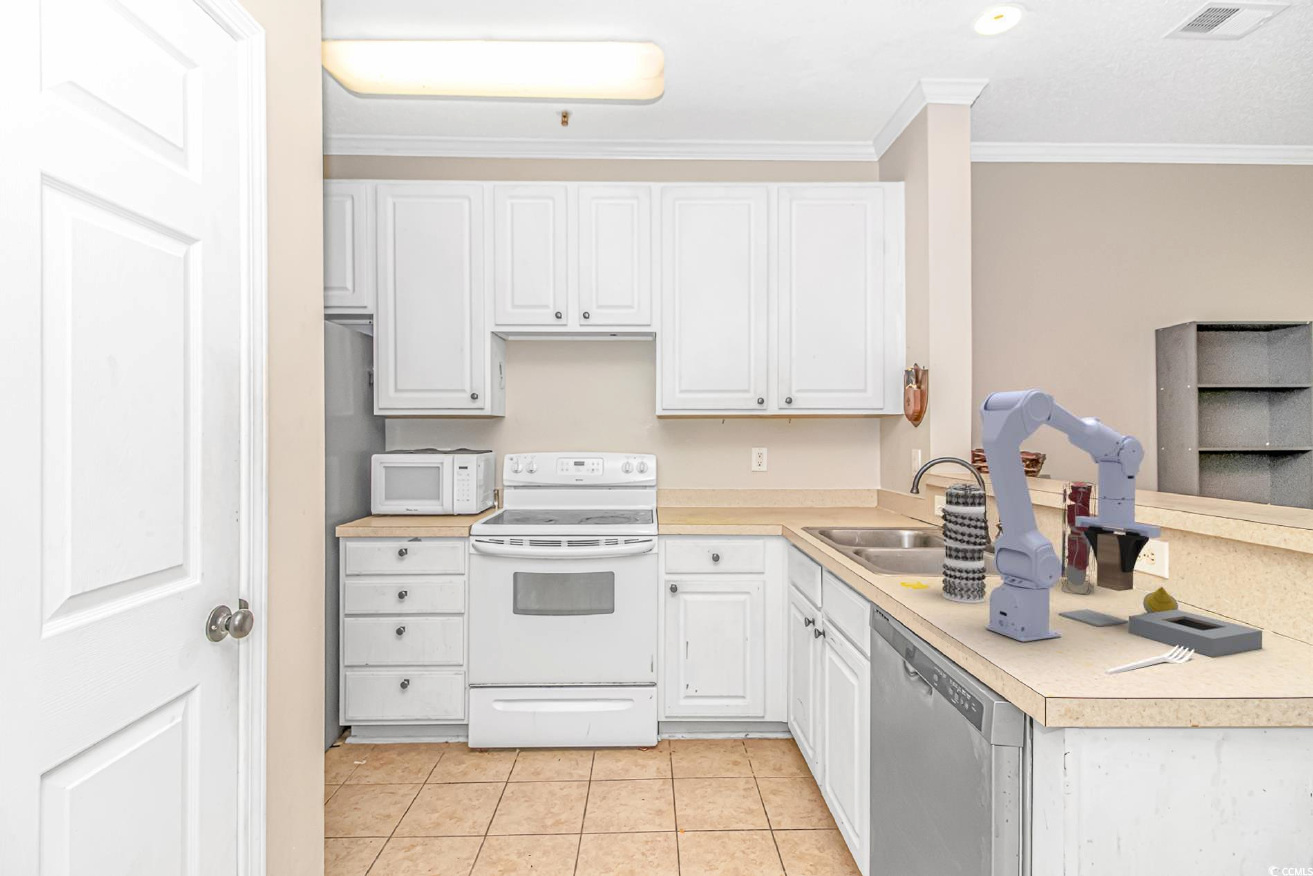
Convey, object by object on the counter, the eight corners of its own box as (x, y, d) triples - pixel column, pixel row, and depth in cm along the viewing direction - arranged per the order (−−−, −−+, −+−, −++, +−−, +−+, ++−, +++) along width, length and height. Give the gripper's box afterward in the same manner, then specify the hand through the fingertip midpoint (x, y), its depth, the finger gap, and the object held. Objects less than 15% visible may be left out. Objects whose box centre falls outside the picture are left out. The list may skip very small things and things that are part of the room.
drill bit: (1184, 619, 122) (1187, 593, 117) (1155, 629, 123) (1157, 603, 118) (1163, 598, 127) (1165, 571, 121) (1136, 607, 128) (1137, 581, 122)
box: (1093, 605, 131) (1095, 490, 130) (1059, 600, 134) (1060, 488, 134) (1094, 582, 151) (1096, 482, 151) (1064, 578, 154) (1065, 480, 154)
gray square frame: (1212, 657, 101) (1212, 638, 101) (1128, 632, 113) (1128, 616, 113) (1262, 648, 105) (1262, 630, 105) (1176, 625, 117) (1176, 609, 117)
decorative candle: (938, 590, 142) (939, 482, 142) (983, 594, 139) (985, 483, 139) (942, 601, 133) (943, 485, 133) (990, 605, 130) (992, 486, 130)
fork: (1095, 672, 95) (1095, 660, 95) (1174, 655, 103) (1174, 644, 103) (1118, 680, 92) (1118, 668, 92) (1197, 662, 100) (1197, 650, 100)
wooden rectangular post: (1118, 591, 116) (1118, 537, 116) (1096, 585, 120) (1097, 534, 119) (1133, 589, 117) (1133, 536, 117) (1111, 584, 121) (1112, 533, 121)
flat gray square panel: (1098, 627, 116) (1098, 624, 116) (1058, 614, 124) (1058, 612, 124) (1128, 622, 119) (1128, 620, 119) (1087, 611, 126) (1087, 609, 126)
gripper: (1172, 502, 112) (1171, 576, 113) (1093, 494, 126) (1092, 560, 126) (1145, 503, 110) (1144, 579, 110) (1068, 495, 124) (1067, 562, 124)
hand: (1115, 569), depth 118 cm, fingers closed on wooden rectangular post, 4 cm apart
